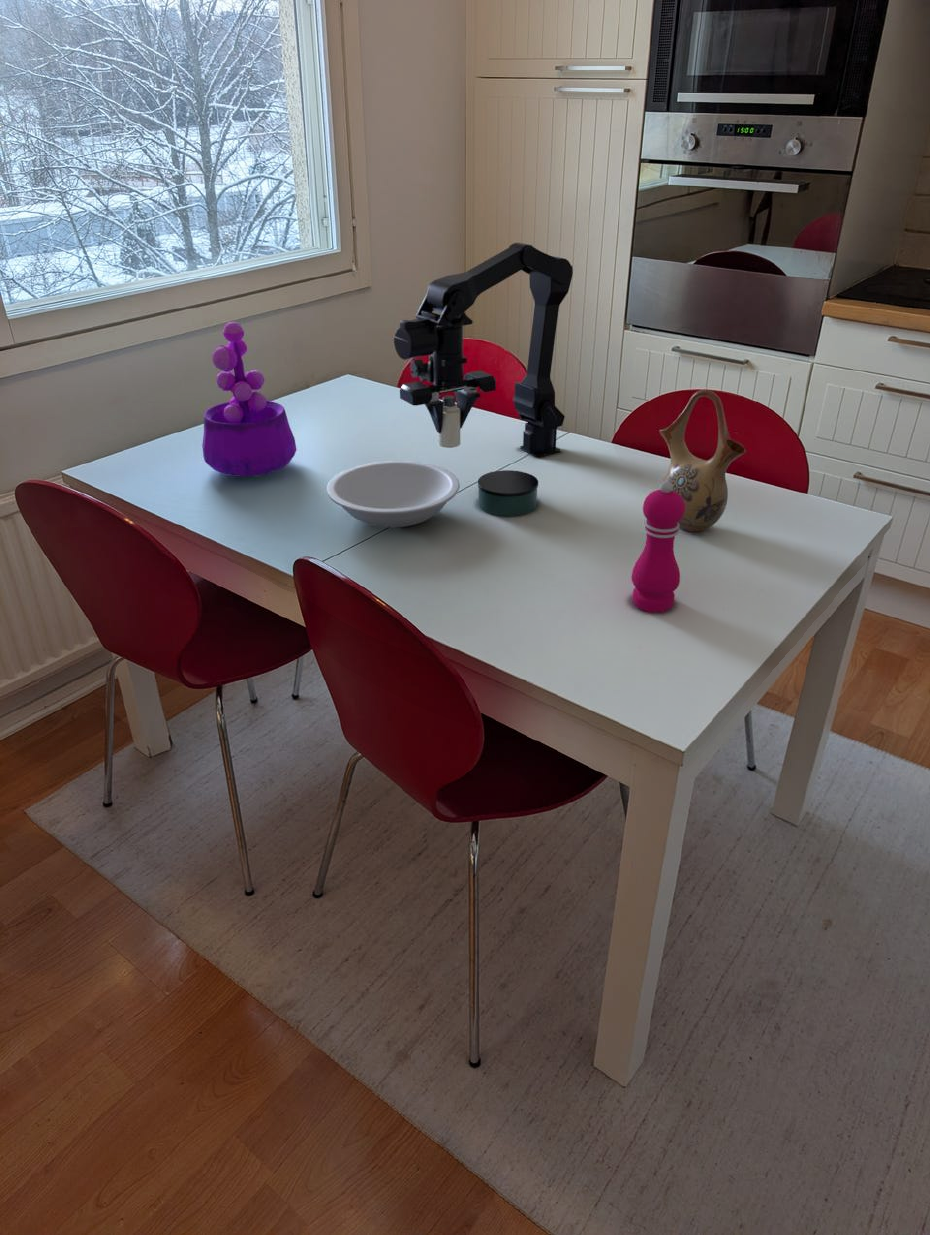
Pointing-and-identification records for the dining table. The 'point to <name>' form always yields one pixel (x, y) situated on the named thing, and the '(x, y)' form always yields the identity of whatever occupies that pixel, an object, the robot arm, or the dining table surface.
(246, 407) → the decorative plant
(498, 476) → the enamel tin
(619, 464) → the dining table surface
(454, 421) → the bottle
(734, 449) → the ceramic vessel
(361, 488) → the soup bowl
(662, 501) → the pepper mill
